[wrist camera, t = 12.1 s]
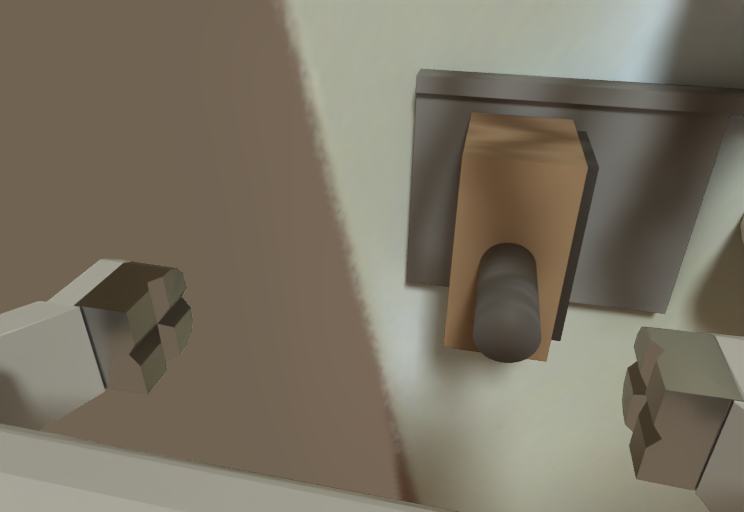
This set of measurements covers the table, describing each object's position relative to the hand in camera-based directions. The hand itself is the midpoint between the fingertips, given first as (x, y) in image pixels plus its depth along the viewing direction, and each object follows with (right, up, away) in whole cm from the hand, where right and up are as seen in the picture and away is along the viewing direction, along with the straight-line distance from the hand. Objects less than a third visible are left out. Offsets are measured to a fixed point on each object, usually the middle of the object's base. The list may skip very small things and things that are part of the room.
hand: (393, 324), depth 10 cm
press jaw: (+9, +4, +28) cm, 29 cm away
